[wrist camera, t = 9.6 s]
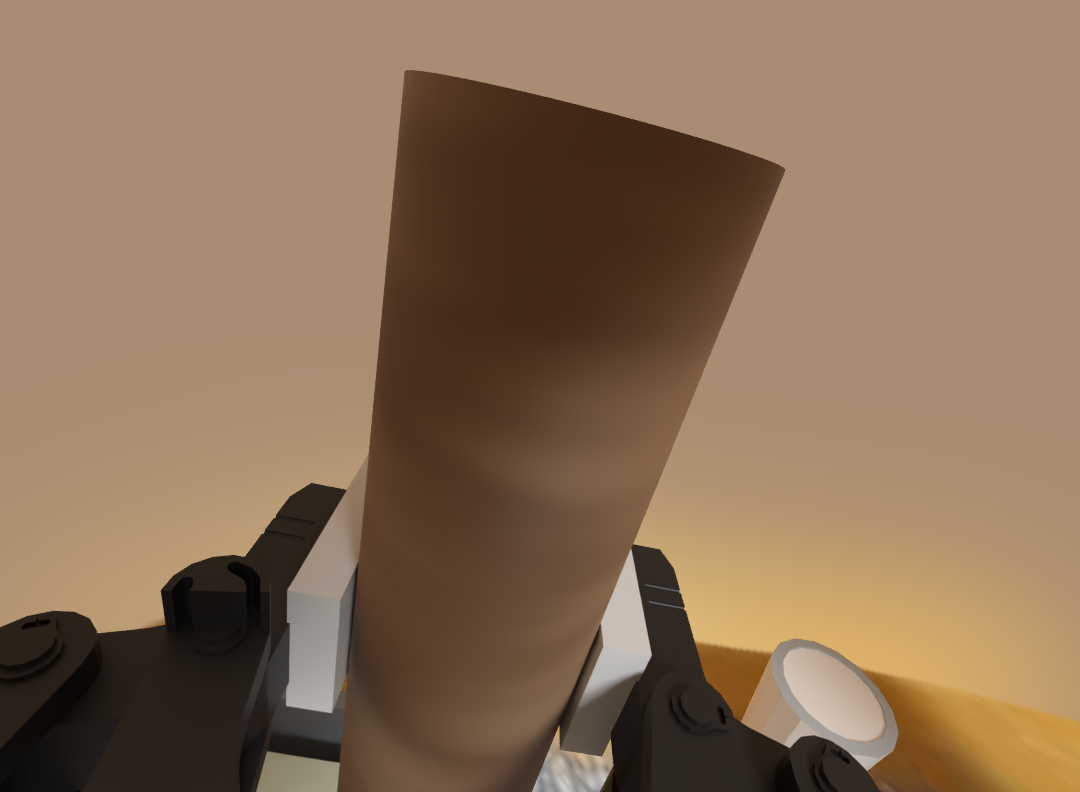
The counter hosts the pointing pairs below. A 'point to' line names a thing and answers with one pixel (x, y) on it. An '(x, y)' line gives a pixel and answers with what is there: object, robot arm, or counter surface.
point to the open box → (303, 749)
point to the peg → (523, 411)
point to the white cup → (822, 702)
